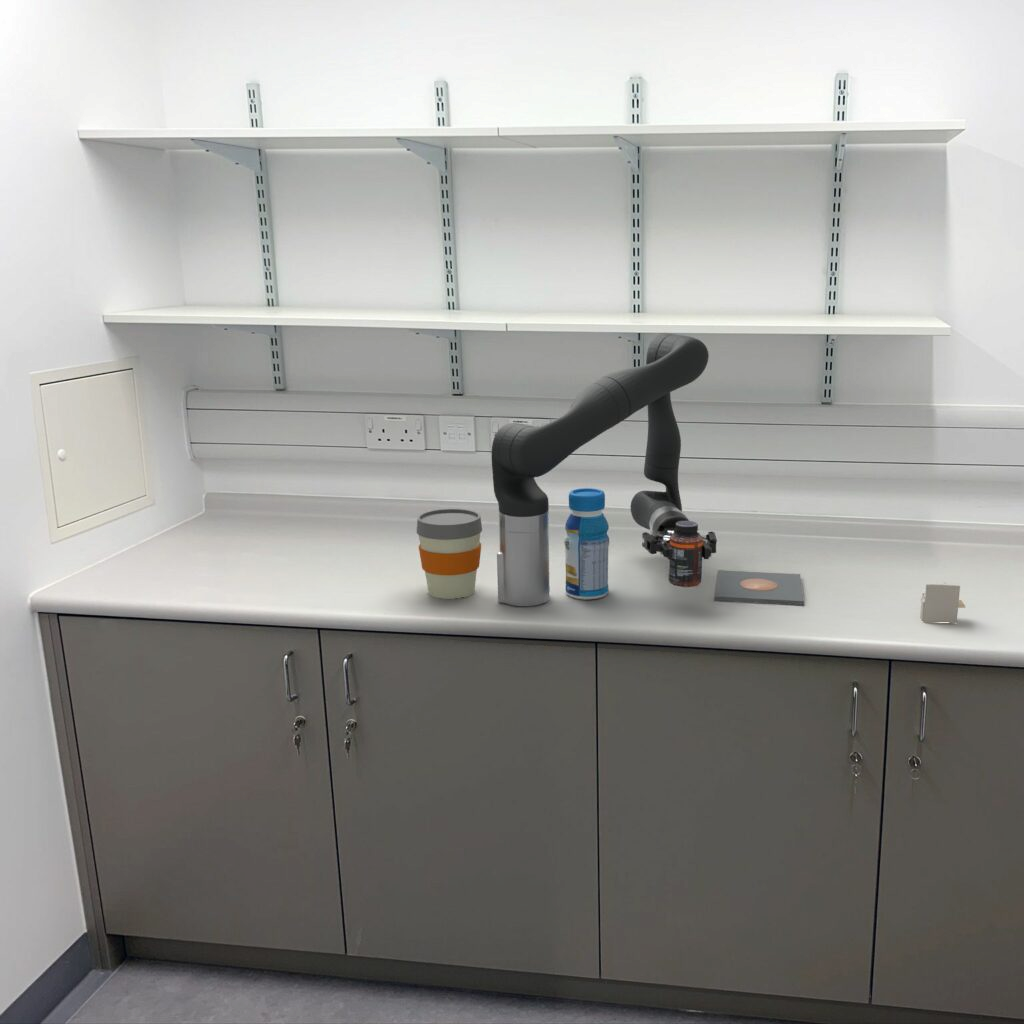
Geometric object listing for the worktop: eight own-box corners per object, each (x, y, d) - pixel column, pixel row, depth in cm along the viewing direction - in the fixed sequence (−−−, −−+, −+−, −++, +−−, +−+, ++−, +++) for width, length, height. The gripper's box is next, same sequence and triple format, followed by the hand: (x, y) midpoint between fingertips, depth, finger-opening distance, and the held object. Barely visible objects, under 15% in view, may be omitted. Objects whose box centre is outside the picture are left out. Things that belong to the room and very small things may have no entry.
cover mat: (714, 600, 195) (714, 595, 195) (717, 573, 210) (717, 569, 210) (803, 605, 192) (803, 600, 192) (800, 577, 207) (800, 573, 207)
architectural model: (917, 618, 186) (921, 578, 184) (959, 620, 185) (963, 579, 183) (921, 625, 183) (925, 584, 181) (963, 627, 181) (967, 586, 179)
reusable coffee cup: (407, 597, 200) (403, 521, 196) (438, 578, 211) (435, 506, 207) (466, 605, 195) (463, 528, 191) (494, 585, 206) (492, 511, 202)
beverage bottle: (599, 603, 195) (599, 499, 190) (557, 597, 199) (556, 494, 194) (615, 589, 202) (616, 488, 197) (575, 584, 206) (574, 485, 201)
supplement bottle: (697, 577, 194) (700, 518, 191) (704, 588, 188) (707, 527, 186) (665, 578, 194) (667, 519, 191) (671, 588, 188) (673, 527, 185)
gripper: (634, 510, 202) (649, 534, 186) (708, 509, 203) (729, 533, 187) (633, 548, 204) (648, 574, 188) (707, 547, 205) (727, 573, 188)
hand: (688, 554), depth 187 cm, fingers closed on supplement bottle, 6 cm apart
